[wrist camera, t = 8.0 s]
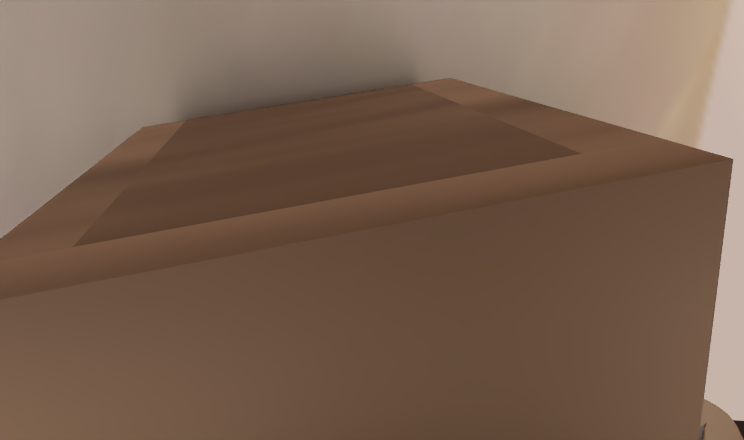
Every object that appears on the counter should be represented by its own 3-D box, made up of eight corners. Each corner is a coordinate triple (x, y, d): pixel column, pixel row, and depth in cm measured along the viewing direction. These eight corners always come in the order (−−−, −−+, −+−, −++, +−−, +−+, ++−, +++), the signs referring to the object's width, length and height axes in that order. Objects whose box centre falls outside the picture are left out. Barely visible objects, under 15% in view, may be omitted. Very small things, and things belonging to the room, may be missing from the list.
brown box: (142, 127, 10) (-100, 319, 3) (450, 77, 11) (731, 158, 4) (255, 512, 13) (241, 961, 7) (478, 456, 14) (652, 815, 8)
